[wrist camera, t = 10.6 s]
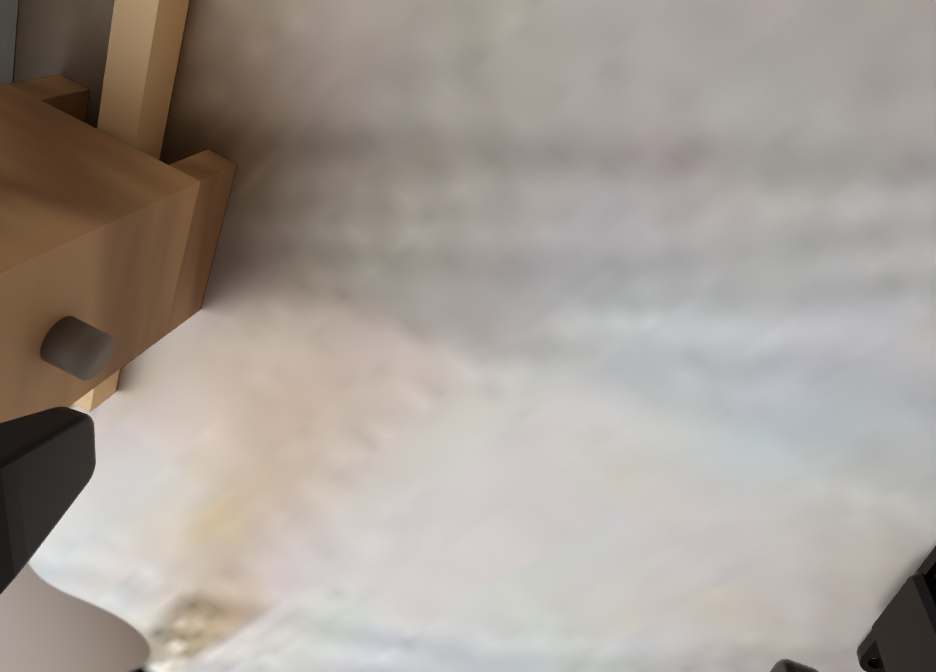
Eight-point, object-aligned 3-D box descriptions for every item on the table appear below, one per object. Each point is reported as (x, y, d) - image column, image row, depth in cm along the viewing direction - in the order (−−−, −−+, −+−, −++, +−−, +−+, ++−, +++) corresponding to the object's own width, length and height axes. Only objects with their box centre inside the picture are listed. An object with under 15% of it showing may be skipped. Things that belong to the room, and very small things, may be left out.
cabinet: (266, 179, 22) (4, 319, 13) (226, 323, 24) (-14, 518, 16) (59, 74, 22) (-340, 144, 13) (42, 230, 24) (-298, 373, 16)
